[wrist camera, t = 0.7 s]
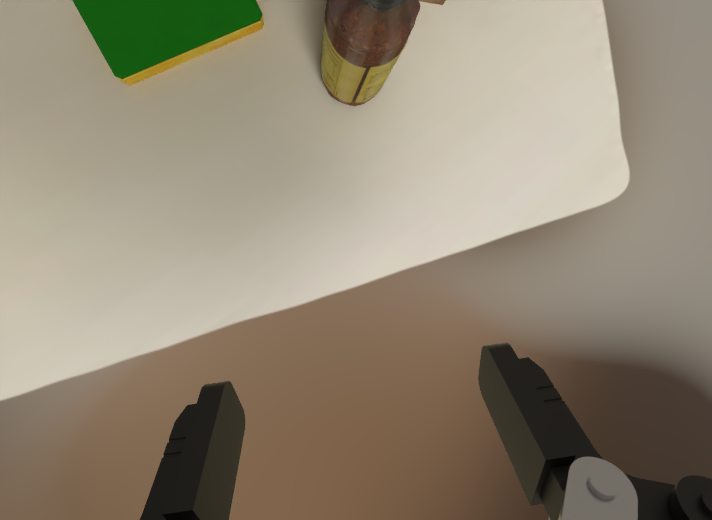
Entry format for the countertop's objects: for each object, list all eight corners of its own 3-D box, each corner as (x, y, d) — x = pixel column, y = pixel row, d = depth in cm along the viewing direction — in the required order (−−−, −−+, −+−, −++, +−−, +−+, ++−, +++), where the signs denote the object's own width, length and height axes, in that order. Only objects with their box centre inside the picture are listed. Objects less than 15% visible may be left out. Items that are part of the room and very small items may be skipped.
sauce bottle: (383, 47, 37) (483, -145, 17) (379, 112, 37) (471, -1, 18) (317, 38, 35) (344, -178, 16) (314, 105, 36) (338, -24, 17)
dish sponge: (85, 10, 33) (68, -6, 30) (229, -48, 34) (224, -67, 31) (128, 88, 34) (116, 78, 31) (265, 29, 35) (263, 16, 33)
